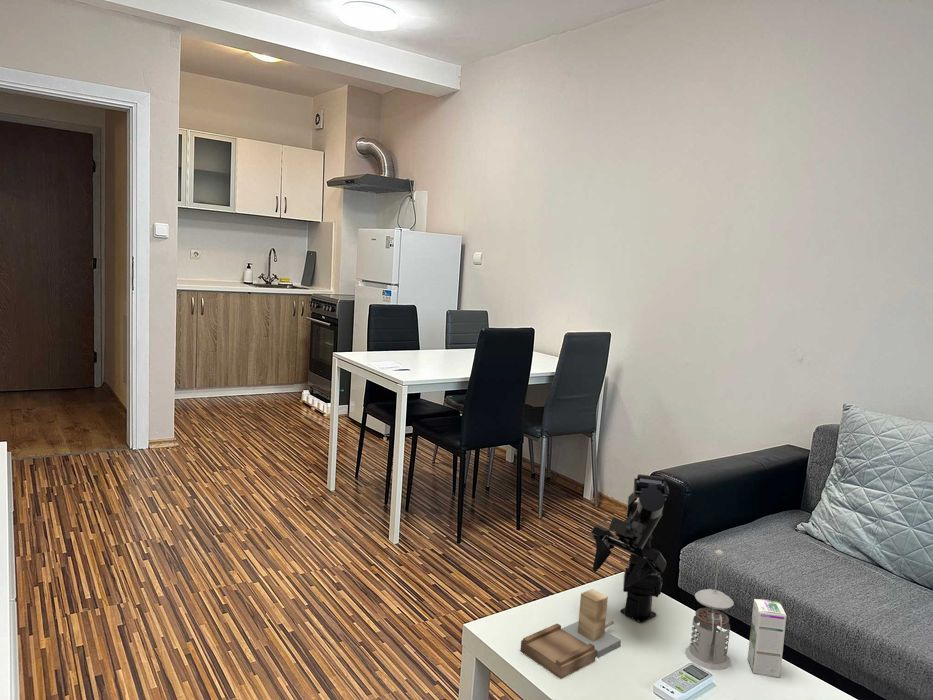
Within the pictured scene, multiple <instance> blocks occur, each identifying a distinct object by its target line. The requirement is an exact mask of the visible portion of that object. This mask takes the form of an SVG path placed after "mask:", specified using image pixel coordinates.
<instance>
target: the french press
mask: <svg viewBox="0 0 933 700" xmlns="http://www.w3.org/2000/svg"><path fill="white" fill-rule="evenodd" d="M724 553H725V552H723V551H722V550H721V549H717V550H715V552H714V556H716V557H717V566H716V574H715V585H714V589H711V588H707V589H701V590H698V591H697V592H695V593H694V597H695V599H696V601H697V602H698V603H699V604H700V605H702V606H705V607H702V608H698V609H697V610H695V615H694V616H693V620H692V623H691V624H692V627H691V631H692V632H691V634H690V635H691V636H690V644H689V646H687V647H686V648H685V651H684V654H685V656H686V657H687V659H688V660H689V661H690V662H692V663H693V664H695V665H697V666H699V667H702V668H704V669H708V670H712V671H714V670H716V671H721V670H726V669H728V668H729V667H730V666H731V665H732V661H731V658H730V657H729V655H728V649H729V641H730V640H729V639H730V632H731V624H730V617H729V616H728V615H727V614H725V613H724V612H722V611H723V610H728V609H730V608H731V607H733V606H734V603H735V602H734V601H733V599H732V598H731V597H730V596H729V595H727V594H726V593H724V592H722V591H721V590H717V583H718V573H719V565H720V558H723V557H724ZM721 610H722V611H721ZM698 624H699V625H698ZM718 627H720V629H719V628H718ZM723 630H724V631H723Z"/></svg>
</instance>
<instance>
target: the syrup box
mask: <svg viewBox="0 0 933 700" xmlns="http://www.w3.org/2000/svg"><path fill="white" fill-rule="evenodd" d="M752 606H753V607H752V615H751V623H750V624H751V626H750V632H749V633H750V634H749V641H748V642H749V643H748V653H747V660H748V664H749V666H750V669H751V672H752V673H753V674H757V675H760V676H767V677H774V678H781V671H782V670H781V668H782V660H783V652H784V644H785V643H784V641H785V634H786V633H785V631H786V623H787V614H786V612H785V609H784V608H783V605H782V604H781V602H779V601H774V600H769V599H757V598H754V599H753V605H752Z"/></svg>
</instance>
